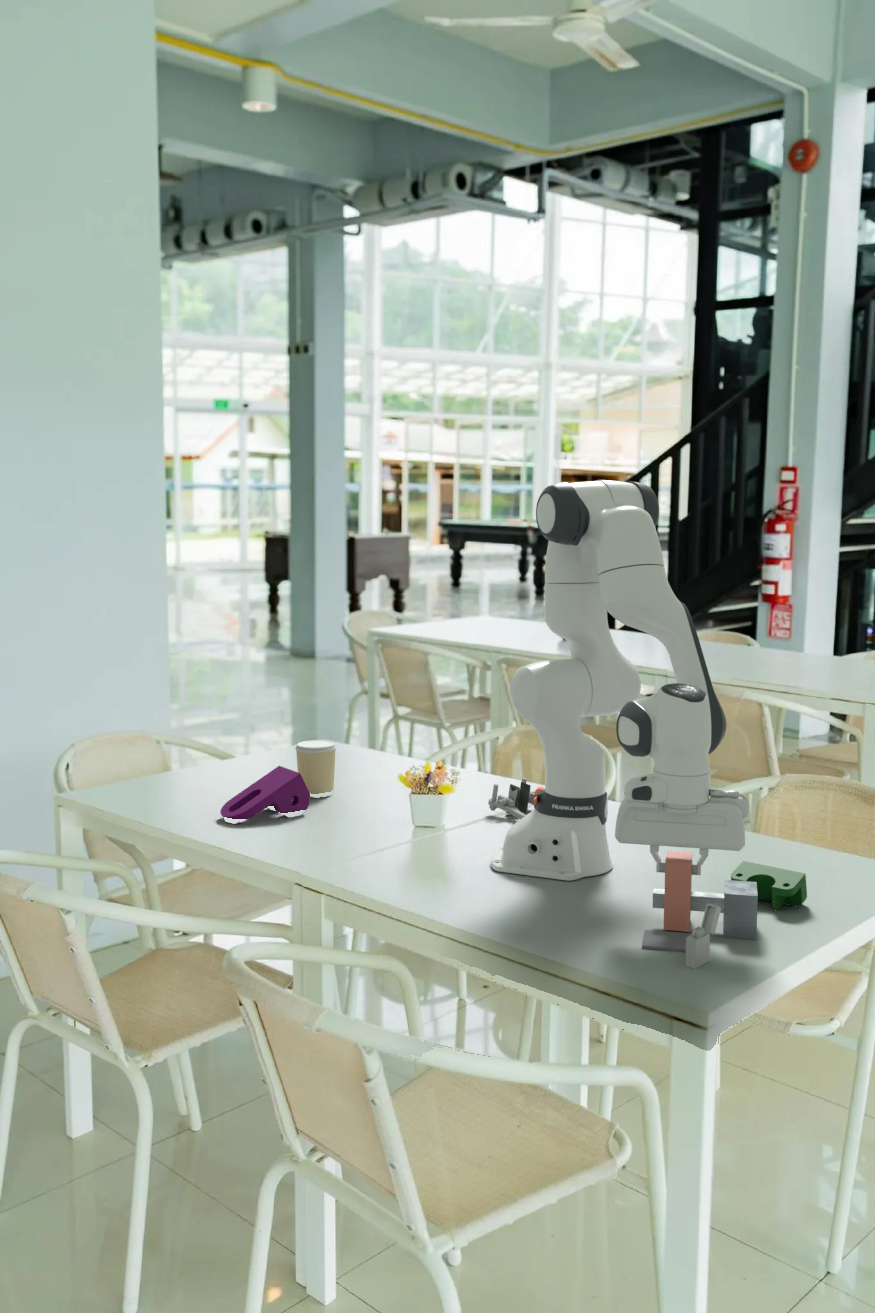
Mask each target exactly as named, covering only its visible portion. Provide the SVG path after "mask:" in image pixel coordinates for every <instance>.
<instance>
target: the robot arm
mask: <svg viewBox="0 0 875 1313" xmlns="http://www.w3.org/2000/svg"><path fill="white" fill-rule="evenodd" d="M535 509H536V510H535V520H536V525H537V528H538V530H539V532H540V534H541V535H542V536H543V537H544V538H545V540H547V541H548V542H547V549H546V555H545V565H544V566H545V568H544V619H545V624H546V626H547V627H548V629H549V630H550V631H551V632H552V633H554V634H555V635H556V636H558V637H560V638H562V639H564V640H565V641H566V642H567V645H568V647H569V649H570V650H569V651H570V658H560V659H559V658H558V659H546V660H544V659H543V660H540V661H537V662H532V663H529V664H526V665H523V666H520V667H519V668H517V670H516V671H515V672H514V674H513V676H512V679H511V681H510V685H509V697H510V701H511V705H512V706H513V708H514V709H515V711H516V713H517V714H518V715H519V716H521V717H522V718H523V719H525V720H526V721H527V722H528V723H529V724H530V725H531V726H532V728H533V729H534V730H535V732H536V734H537V735H538V738H539V740H540V743H541V746H542V752H543V758H544V759H543V762H544V764H543V765H544V786H538V787H536V789H535V790H534V805H533V808H534V809H533V810H532V811H530V812H529V813H526V814H525V815H526V816H524V817H523V818H522V819H518V820H517V821H516V822H515V823H514V824H512V825H511V826H510V827H509V829H508V830H507V832H506V833H505V834H506V835H505V837H504V840H503V846H502V848H500V849H498V850H496V851H495V852H494V854H492V856H491V861H490V867H491V868H492V870H494V871H496V872H500V873H509V874H515V875H516V874H517V875H524V876H531V877H538V878H546V879H554V880H561V881H569V882H570V881H575V880H576V881H577V880H579V879H581V878H584V877H585V878H586V877H592V876H598V875H602V874H606V873H608V872H610V871H611V870H612V868H613V866H614V864H613V862H612V858H611V856H610V855H611V854H610V849H609V844H608V837H607V835H608V834H607V826H606V825H607V824H606V823H607V821H608V812H609V810H608V809H609V806H608V805H609V804H608V802H609V801H608V800H609V799H608V792H607V790H606V755H605V754H606V753H605V751H604V750H603V748H602V747H601V745H600V744H599V743H598V742H597V741H595V740H593V739H592V738H590V737H588V736H586V735H585V734H583V731H582V726H581V725H582V724H581V719H582V718H591V717H601V716H602V717H603V716H611V715H614V714H618V713H619V714H618V716H617V719H616V724H615V725H616V728H615V729H616V737H617V741H618V743H619V745H620V746H621V747H622V749H623V750H624V751H626V753H628V754H629V755H630V756H632V757H637V758H652V759H653V767H652V773H649V774H648V773H647V774H645V775H641V776H636V777H632V778H629V780H627V781H626V782H625V785H624V788H623V790H624V791H623V794H624V795H623V796H624V797H623V798H622V800H621V802H620V805H619V808H618V812H617V816H616V821H615V829H614V830H615V831H614V837H615V839H616V841H617V842H618V843H620V844H628V845H629V844H631V845H642V846H644V845H645V846H649V852H650V854H651V856H652V858H653V860H654V862H655V863H656V870H655V872H656V873H659V874H660V873H661V874H662V873H664V874H665V861H666V858H665V859H663V858H661V856H660V854H659V851H660V847H673V848H685V849H686V848H687V849H688V848H689V849H699V858H698V859H697V861H694V860H692V868H691V869H692V870H691V875H692V876H701V873H702V866H703V864H704V862H705V861H706V859H707V858H708V857H709V850H719V851H720V850H721V851H734V852H735V851H736V852H740V851H742V849H744V847H745V846H746V830H745V821H744V820H745V819H746V818H748V814H749V808H750V807H749V806H750V803H749V800H748V799H747V797H746V796H745V795H744V794H742V793H740V792H739V791H737V790H729V791H727V790H721V789H710V786H711V784H710V783H711V766H710V762H709V755H710V754H713V752H714V751H715V750H716V749H717V748H718V747H719V745H720V744H721V742H722V741H723V739H724V737H725V735H726V732H727V718H726V714H725V712H724V709H723V707H722V705H721V702H720V701H719V699H718V697H717V694H716V693H715V690H714V686H713V683H712V679H711V676H710V673H709V669H708V666H707V663H706V662H707V661H706V659H705V656H704V652H703V649H702V646H701V643H700V639H699V635H698V633H697V629H696V626H695V624H694V620H693V617H692V615H691V613H690V610H689V609H688V607H687V605H686V604H685V603H684V602H682V601H680V600H679V599H678V597H677V596H676V595H675V593H674V591H673V589H672V587H671V585H670V582H669V580H668V576H667V574H666V568H665V563H664V562H665V561H664V555H663V550H662V546H661V543H660V539H659V538H660V537H659V535H658V532H657V530H656V526H657V525H658V521H659V518H660V504H659V500H658V497H657V495H656V493H655V491H654V489H652V487H650V486H649V485H647V484H644V483H642V482H637V481H632V480H630V481H620V480H609V479H608V480H607V479H597V480H593V481H592V480H591V481H589V480H588V481H577V482H570V483H569V482H567V481H564V482H558V483H554V484H551V485H549V486H548V485H547V487H545V488H544V489H543V491H542V492H541V493H540V495H539V497H538V499H537V503H536V508H535ZM608 613H609V615H611V616H612V618H614V619H615V620H617V621H618V622H620V623H621V624H623V625H625V626H626V627H630V628H633V629H636V630H639V631H640V632H643V633H646V634H648V635H650V636H652V637H654V638H655V639H657V640H658V641H659V642H660V643H661V644H662V645H663V646H664V647H665V649H666V651H667V653H668V655H669V658H670V662H671V665H672V668H673V673H674V675H675V676H674V677H675V680H676V683H675V682H673V683H667V684H664V685H663V686H661V687H659V689H658V690H657V692H655V693H654V694H652V695H649V696H647V697H642V698H640V695H641V690H642V689H641V688H642V681H641V676H640V674H639V671H638V669H637V667H636V666H635V665H634V664H633V663H632V662H631V661H630V660H629V659H627V658H626V657H625V656H624V655H623V653H622V652H621V651H620V650H619V648H618V647H617V645H616V643H615V641H614V639H613V637H612V634H611V630H610V626H609V623H608V622H609V620H608Z"/></svg>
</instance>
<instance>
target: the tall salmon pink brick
mask: <svg viewBox="0 0 875 1313" xmlns="http://www.w3.org/2000/svg"><path fill="white" fill-rule="evenodd" d="M665 860H666V861H665V873H664V889H665V892H664V909H663V931H671V932H684V933H690V932H691V930H690V929H691V928H690V927H691V926H690V925H691V916H692V915H691V914H692V913H691V912H692V911H690V899H691V891H692V877H693V875H691V870H692V869H691V868H692V861H693V852H692V851H681V850H680V851H679V850H666V854H665Z"/></svg>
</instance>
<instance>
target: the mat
mask: <svg viewBox="0 0 875 1313" xmlns="http://www.w3.org/2000/svg"><path fill="white" fill-rule="evenodd" d="M690 935H691V933H690V932H681V931H668V930H654V929H653V930H652V929H644V934H643V940H642V944H641V949H647V950H648V949H649V950H657V951H658V950H660V951H669V952H671V951H672V952H683V953H686V937H688V936H690Z"/></svg>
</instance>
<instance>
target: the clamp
mask: <svg viewBox="0 0 875 1313" xmlns="http://www.w3.org/2000/svg"><path fill="white" fill-rule="evenodd" d="M806 877H807V876H806V873H805V872H799V871H795V870H790V869H784V868H779V867H775V866H771V865H765V864H761V863H754V862H750V861H745V860H742V862H740V863H739V865H738V866H737V867H736V868H735V869H734V870H733V871H732V872H731V873H730V880H733V881H748V882H756V883H757V893H758V900H763V899H765V901H769V902H772V901H773V902H772V908H773V911H774V910H776V911H775V912H777V911H778V910H780V908H781V907H782V906H783V905H786V904H789V905H788V906H790V905H791V907H795V906H797V907H796V908H800V907H801V906H802V905H803V904H804V902H805V901H806V900H807V898H808V892H807V888H808V887H807V878H806Z"/></svg>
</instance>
